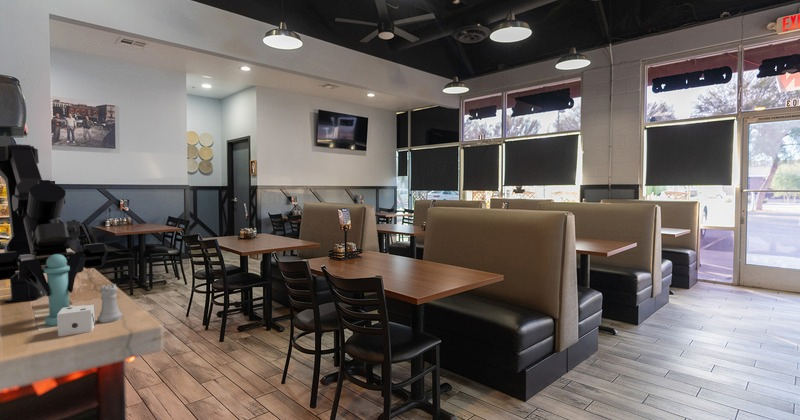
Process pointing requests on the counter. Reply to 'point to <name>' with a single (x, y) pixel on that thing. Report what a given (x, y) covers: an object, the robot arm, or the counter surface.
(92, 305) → the die
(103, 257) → the robot arm
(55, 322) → the pawn
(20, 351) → the counter surface
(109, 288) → the rook chess piece
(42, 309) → the board
